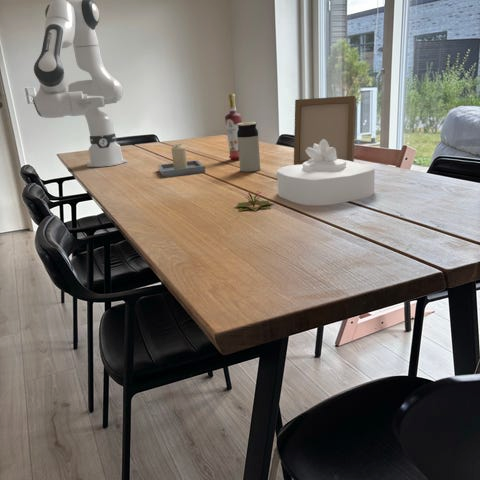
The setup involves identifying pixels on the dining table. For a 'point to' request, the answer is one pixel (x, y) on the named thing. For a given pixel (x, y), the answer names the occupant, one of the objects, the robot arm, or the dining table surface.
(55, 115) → the robot arm
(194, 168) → the dish
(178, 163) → the candle
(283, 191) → the tissue box
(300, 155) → the photo frame
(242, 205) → the olive green leafy cluster
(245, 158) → the travel mug
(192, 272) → the dining table surface
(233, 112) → the liquor
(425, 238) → the dining table surface
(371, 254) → the dining table surface
